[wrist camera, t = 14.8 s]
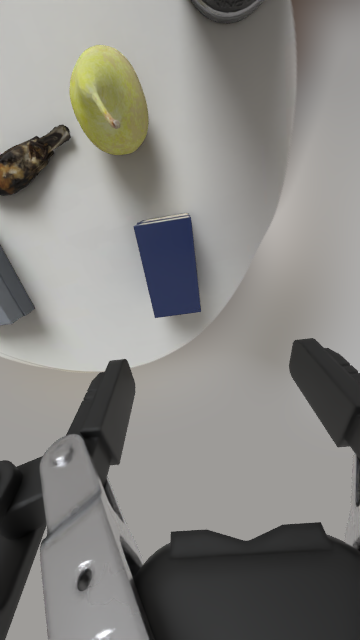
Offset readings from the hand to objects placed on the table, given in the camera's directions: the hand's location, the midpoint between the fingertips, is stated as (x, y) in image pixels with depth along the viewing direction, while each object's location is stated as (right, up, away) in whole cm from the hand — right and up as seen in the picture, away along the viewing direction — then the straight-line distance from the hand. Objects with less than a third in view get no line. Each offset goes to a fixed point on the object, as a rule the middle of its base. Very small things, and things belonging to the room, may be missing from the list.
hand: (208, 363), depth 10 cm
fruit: (-8, +23, +12) cm, 28 cm away
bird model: (-19, +20, +14) cm, 31 cm away
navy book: (-2, +9, +16) cm, 18 cm away
